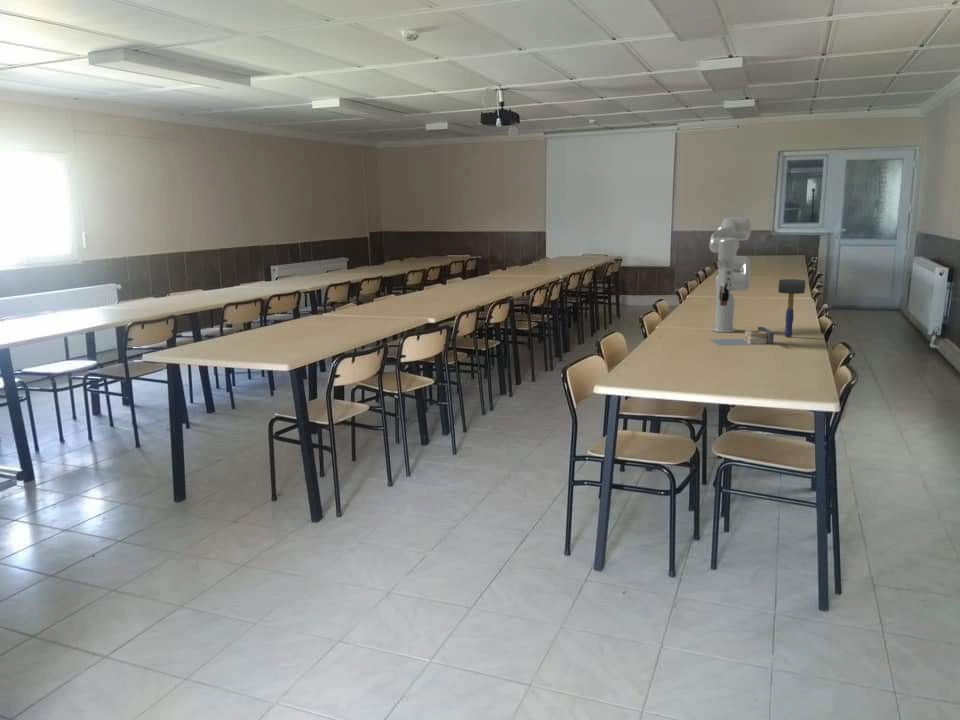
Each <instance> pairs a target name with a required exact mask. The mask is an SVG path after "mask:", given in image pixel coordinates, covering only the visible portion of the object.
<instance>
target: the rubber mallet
mask: <svg viewBox="0 0 960 720" xmlns="http://www.w3.org/2000/svg"><path fill="white" fill-rule="evenodd" d="M805 290H806V280H805V279H799V278H797V279H796V278H795V279H794V278H791V279H790V278H789V279H788V278H786V279H779V282H778V293H779V294H788V296H787V298H788V299H787V308H786V312H785V326H784V327H785V329H784V333H783V334H784V337H786V338H791V337H792V336H793V323H794V316H795V315H794V297H795V294H797V295H798V294H804V293H805Z"/></svg>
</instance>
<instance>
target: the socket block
mask: <svg viewBox="0 0 960 720" xmlns="http://www.w3.org/2000/svg"><path fill="white" fill-rule="evenodd" d="M767 334H768V333H766V332H764V331H761V330H758V329H757V330H744V339H745V340H744V341H746V342H748V343H750V344H761V343H767Z"/></svg>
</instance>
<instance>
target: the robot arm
mask: <svg viewBox="0 0 960 720" xmlns="http://www.w3.org/2000/svg"><path fill="white" fill-rule="evenodd" d="M751 227H752V226H751V221H750V219H749V218H748V217H745V216H731V217H730V216H729V217H726V218H724V219H723V220H722V222H721V225H720V226H718V227H717V229H716V231H714V232H713V233H712V234H711V235H710V239H709V243H708V244H709V246H708V247H709V250H710V252H712V253H717V256H718V257H717V267H718V273H717V275H716V277H715V281H714V282H715V291H716V292H715V293H716V294H715V296H716V298H715V301H716V302H715V314H714V315H715V316H714V317H715V319H714V326H713V327H712V328H711V331H713V332H715V333H716V332H719V333H733V332H736V331H737V328H735V327H734V320H735V319H734V316H735V314H734V313H735V303H736V302H735V301H736V300H735V296H734V295H733V293H731V292H734V291H737V292H739V291H740V292H741V291H742V292H743V291H748V290H749V288H750V283H751V260H750V258H749V257H748V256H743V255H737V251H738V250H739V248H740V241H747V240H749V239H750V236H751ZM721 286H722V287H723V293H722V301H727V306H720V299H721ZM725 286H727V287H725Z"/></svg>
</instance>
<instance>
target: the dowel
mask: <svg viewBox="0 0 960 720" xmlns="http://www.w3.org/2000/svg"><path fill="white" fill-rule="evenodd" d="M725 287H727V286H725ZM722 293H723V287H722V286H721V299H720V306H727V301H722Z"/></svg>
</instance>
